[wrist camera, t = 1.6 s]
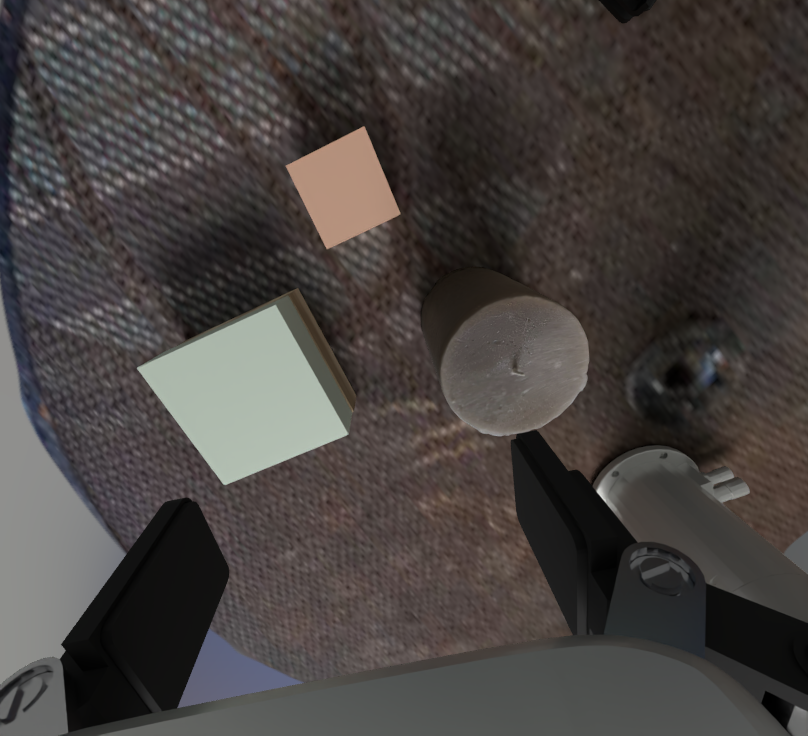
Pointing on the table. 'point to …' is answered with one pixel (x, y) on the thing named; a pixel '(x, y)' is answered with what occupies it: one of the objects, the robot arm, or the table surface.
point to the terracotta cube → (344, 188)
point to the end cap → (627, 8)
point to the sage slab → (251, 392)
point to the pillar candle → (503, 351)
